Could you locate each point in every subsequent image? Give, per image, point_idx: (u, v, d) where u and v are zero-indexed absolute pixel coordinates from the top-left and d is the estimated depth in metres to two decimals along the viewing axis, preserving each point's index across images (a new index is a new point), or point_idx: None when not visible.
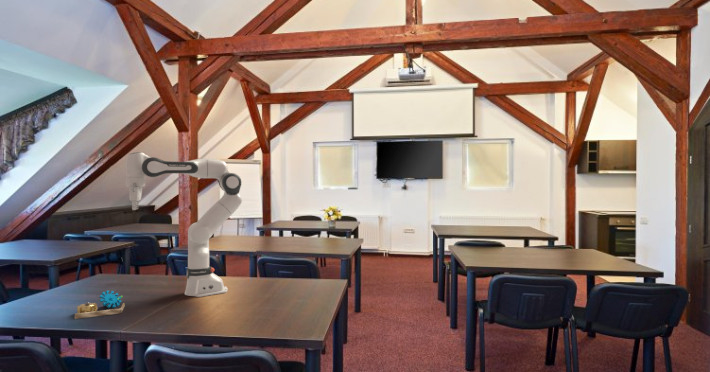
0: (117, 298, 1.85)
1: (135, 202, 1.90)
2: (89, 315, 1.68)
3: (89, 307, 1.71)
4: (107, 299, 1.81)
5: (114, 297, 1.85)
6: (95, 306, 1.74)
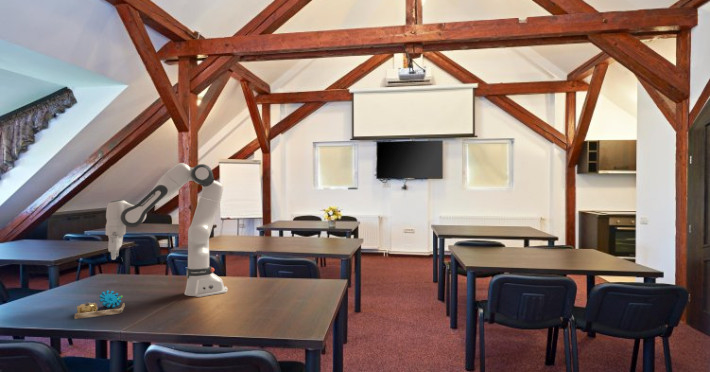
0: (117, 298, 1.86)
1: (114, 252, 1.88)
2: (89, 315, 1.68)
3: (89, 307, 1.71)
4: (107, 299, 1.81)
5: (114, 297, 1.85)
6: (95, 306, 1.74)
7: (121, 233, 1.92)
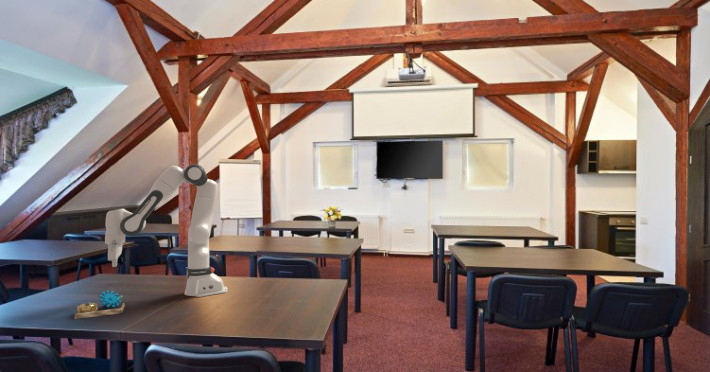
0: (117, 298, 1.86)
1: (115, 259, 1.91)
2: (89, 315, 1.68)
3: (89, 307, 1.71)
4: (107, 299, 1.81)
5: (114, 297, 1.85)
6: (95, 306, 1.74)
7: (120, 241, 1.92)
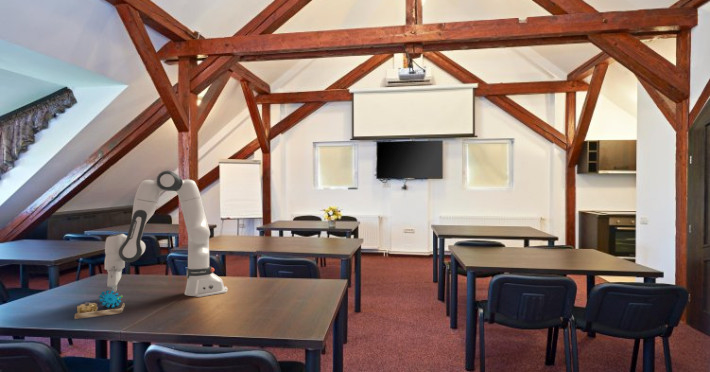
0: (117, 298, 1.86)
1: None
2: (89, 315, 1.68)
3: (89, 307, 1.71)
4: (106, 299, 1.81)
5: (114, 297, 1.85)
6: (95, 306, 1.74)
7: (120, 267, 1.91)
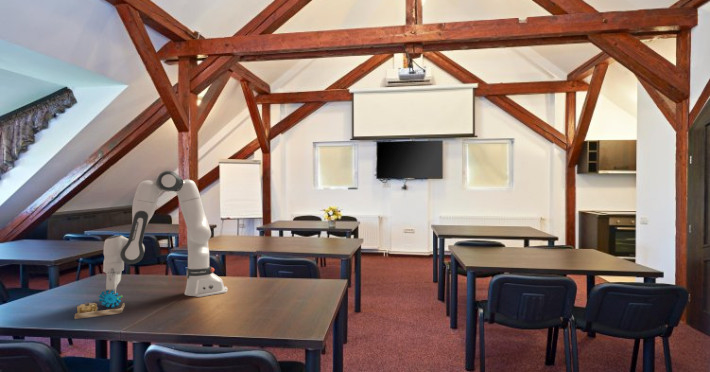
0: (117, 298, 1.86)
1: None
2: (89, 315, 1.68)
3: (89, 307, 1.71)
4: (106, 299, 1.81)
5: (114, 297, 1.85)
6: (95, 306, 1.74)
7: (119, 269, 1.87)
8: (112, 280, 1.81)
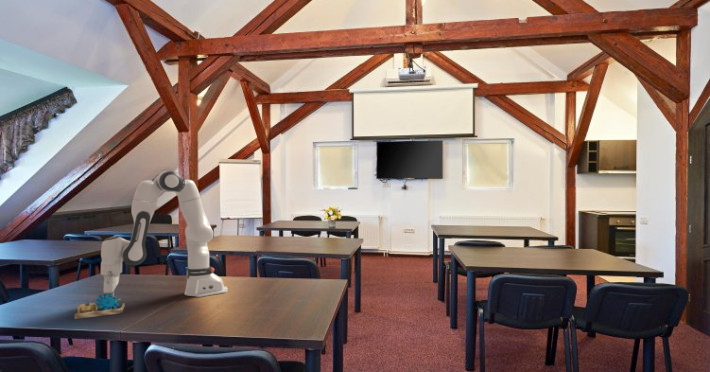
0: (115, 301, 1.80)
1: None
2: (89, 315, 1.68)
3: (89, 307, 1.71)
4: (104, 302, 1.76)
5: (111, 300, 1.79)
6: (95, 306, 1.74)
7: (117, 272, 1.82)
8: (110, 283, 1.75)
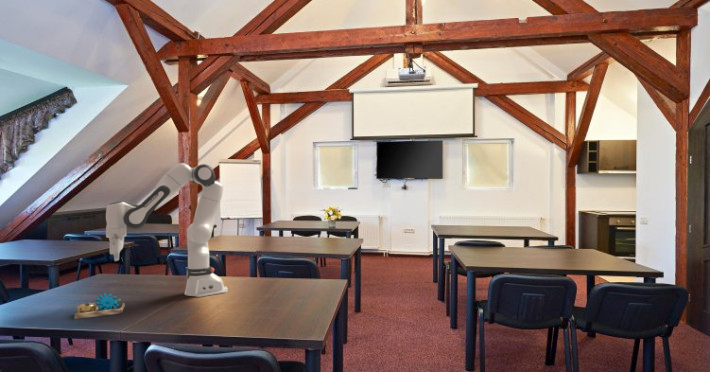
0: (114, 301, 1.80)
1: (117, 253, 1.88)
2: (89, 315, 1.68)
3: (89, 307, 1.71)
4: (104, 302, 1.76)
5: (111, 300, 1.79)
6: (95, 306, 1.74)
7: (122, 235, 1.88)
8: (115, 244, 1.81)
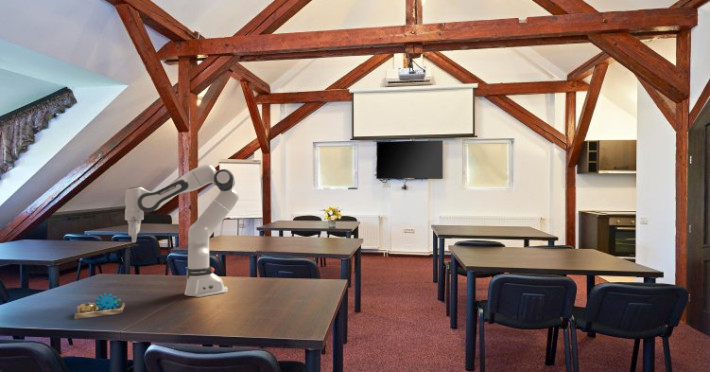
0: (114, 301, 1.80)
1: (135, 235, 2.00)
2: (89, 315, 1.68)
3: (89, 307, 1.71)
4: (103, 302, 1.76)
5: (111, 300, 1.79)
6: (95, 306, 1.74)
7: (140, 218, 2.00)
8: (134, 226, 1.93)
